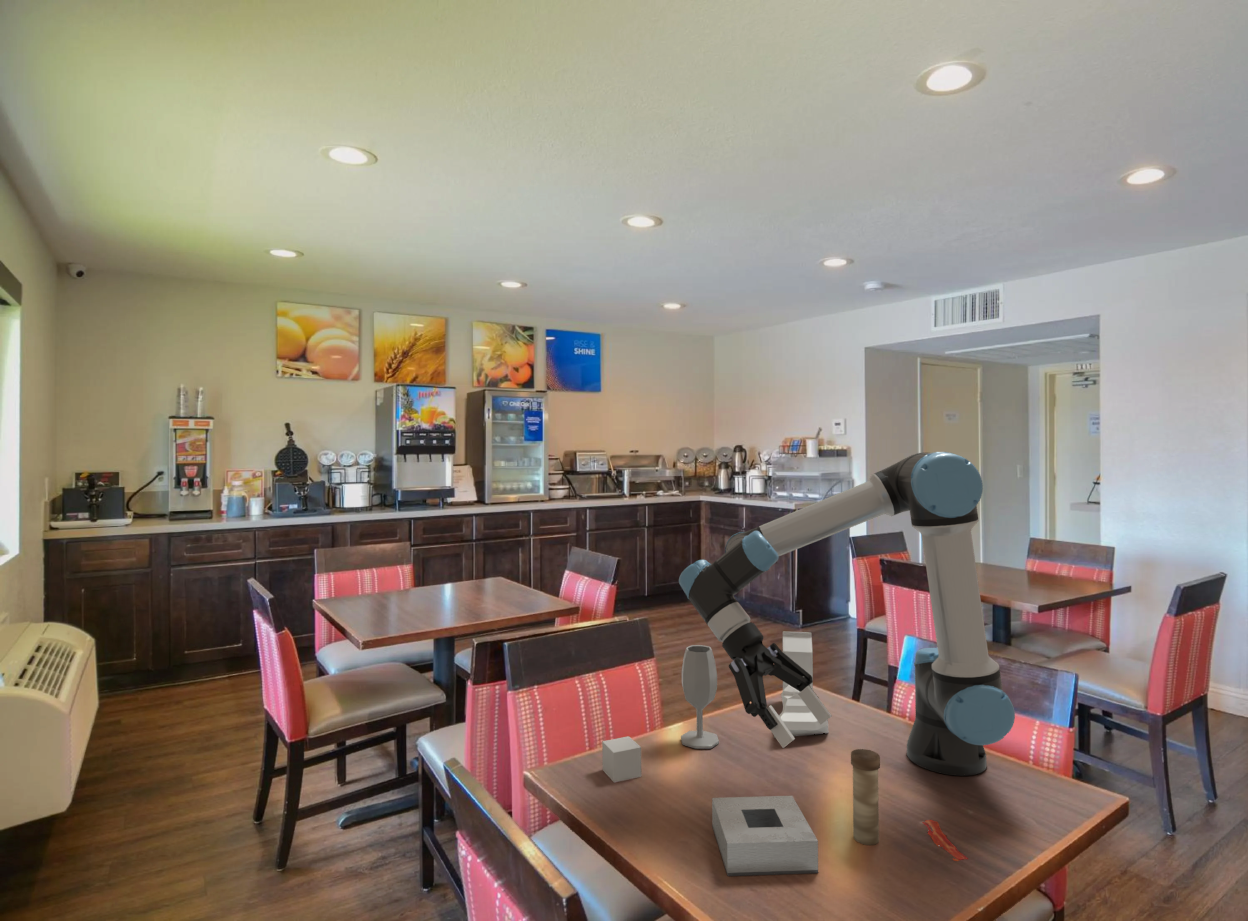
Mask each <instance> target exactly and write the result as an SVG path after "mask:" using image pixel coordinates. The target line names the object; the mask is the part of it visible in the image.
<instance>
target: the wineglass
mask: <svg viewBox="0 0 1248 921" xmlns="http://www.w3.org/2000/svg"><path fill="white" fill-rule="evenodd" d="M681 686H682V690H683V694H684V698H685V701H686V702H687V703H688V704H690V705H691V706H692V707H693V708H694V709H696V730H688V731H687V732H685V733H684V734H682V735H680V738H681V740H680V741H681V744H682V746H685V747H689V748H692V749H695V750H697V749H698V750H699V749H700V750H701V749H702V750H705V749H707V750H708V749H710V750H711V749H712V748H715V747H716V746H717V745H718V744H719V743H720V740H719V738H718V734H717V733H714V732H711V731H708V730H707V731H706V730H704V729H703V726H704V725H703V724H704V721H703V720H704V717H703V716H704V715H703V712H704V711H703V710H704V709H705V708H706V707H707V706H708V705H710V703H711V702H712V701H714V700H715V697H716V694H717V688H718V673H717V666H716V660H715V657H714V653H713V649H712V647H711V646H709V645H704V644H703V645H702V644H691V645H689V646H687V647H686V648H685V650H684V654H683V659H682V666H681Z"/></svg>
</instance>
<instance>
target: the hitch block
mask: <svg viewBox="0 0 1248 921" xmlns="http://www.w3.org/2000/svg"><path fill="white" fill-rule="evenodd" d="M711 800H712V802H711V812H712V814H711V815H712V817H711V818H712V819H711V820H712V822H711V823H712V824H711V827H712V830H713V833H714V837H715V839H716V843H717V846H718V849H719V852H720V857H721V859H722V862H723V865H724V869H725V872H726V874H727V877H738V876H740V877H741V876H742V877H743V876H773V875H774V876H775V875H799V874H800V875H802V874H803V875H804V874H808V875H809V874H819V841H818V839H817V837H816V835H815V833H814V832H813V829H812V828H811V826H810V824H809V823H808V821H807V819H806V817H805V816H804V813H803V812H802V810H801V808H800V807H799V805H798V803H797V802H796V800H795V798H794V796H793V795H768V796H767V795H766V796H763V795H762V796H761V795H760V796H731V797H730V796H728V797H727V796H726V797H712V798H711Z"/></svg>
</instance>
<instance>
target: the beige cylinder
mask: <svg viewBox="0 0 1248 921" xmlns="http://www.w3.org/2000/svg"><path fill="white" fill-rule="evenodd" d="M850 764H851V766H852V807H853V808H852V810H853V811H852V812H853V813H852V814H853V815H852V819H853V821H852V822H853V824H852V825H853V828H852V833H853V835H852V836H853V840H855V841H856V842H857V843H859V844H861V845H865V846H875V845H877V844H879V842H880V836H879V835H880V834H879V832H880V830H879V827H880V824H879V821H880V820H879V818H880V817H879V810H880V809H879V769H880V768H881V755H880V754H879V753H877V752H876V751H875V750H872V749H871V750H870V749H865V748H862V749H861V748H860V749H858V748H857V749H853V750H851V751H850Z"/></svg>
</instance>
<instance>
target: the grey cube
mask: <svg viewBox="0 0 1248 921" xmlns="http://www.w3.org/2000/svg"><path fill="white" fill-rule="evenodd" d="M601 746H602V748H601V749H602V771H603V772H604V774H606V776H608V778H609V779H611V781H612V782H613V783H618V782H623V781H628V780H633V779H636V778H637V779H638V778H640V777H642V747H641V745H639V744H638V743H637V742H636V741H635V740H633V738H631V737H630V736H628V735H627V736H623V737H617V738H613V739H607V740H603V741H602V743H601Z"/></svg>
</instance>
